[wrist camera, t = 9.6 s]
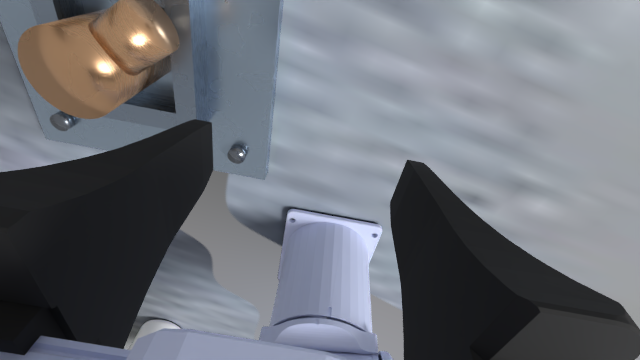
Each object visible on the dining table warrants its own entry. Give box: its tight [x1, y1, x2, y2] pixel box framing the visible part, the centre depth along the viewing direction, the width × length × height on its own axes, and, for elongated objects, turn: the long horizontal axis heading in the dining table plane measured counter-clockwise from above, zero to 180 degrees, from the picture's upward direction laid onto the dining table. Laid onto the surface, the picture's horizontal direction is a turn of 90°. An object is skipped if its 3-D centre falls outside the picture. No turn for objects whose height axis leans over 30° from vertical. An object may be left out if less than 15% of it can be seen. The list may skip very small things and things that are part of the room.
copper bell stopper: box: [18, 0, 179, 119], centre depth 16 cm, size 6×4×6 cm, turn 117°
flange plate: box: [0, 0, 283, 180], centre depth 18 cm, size 16×16×3 cm
